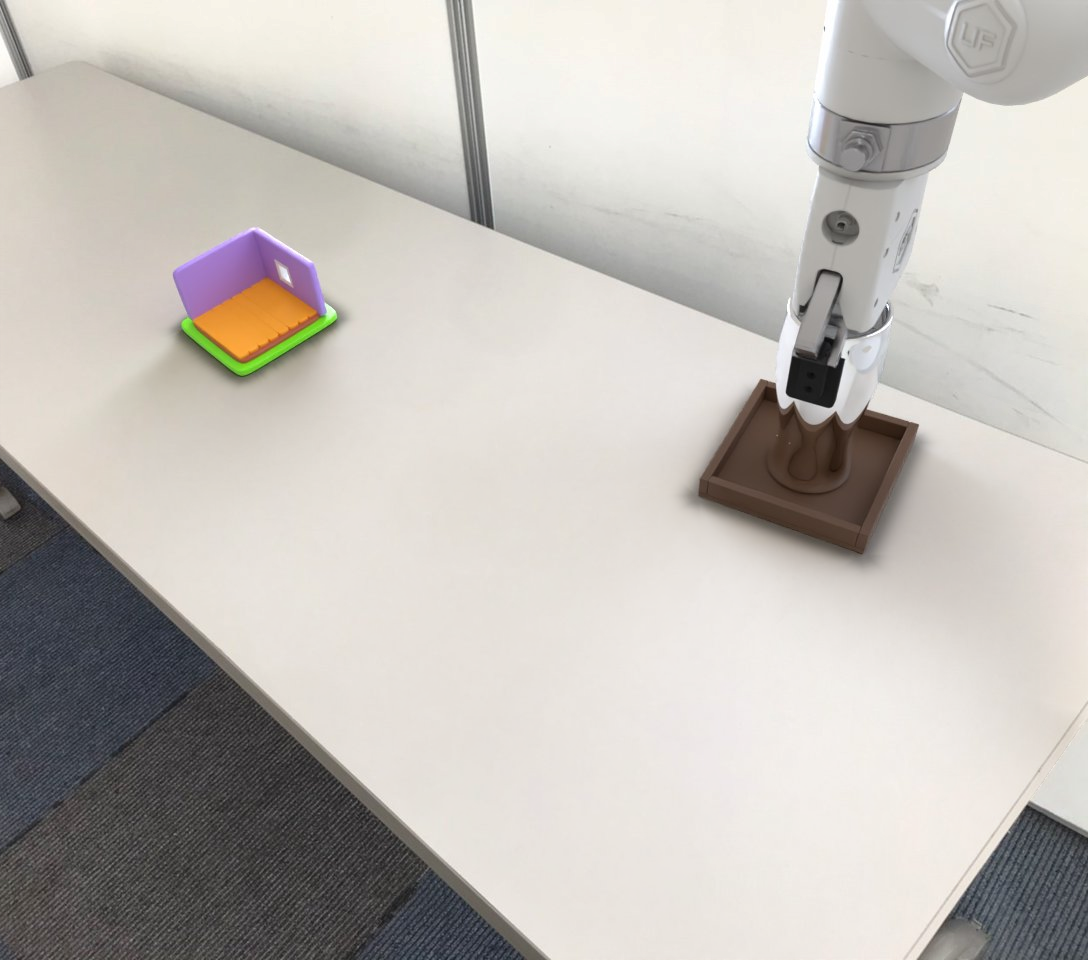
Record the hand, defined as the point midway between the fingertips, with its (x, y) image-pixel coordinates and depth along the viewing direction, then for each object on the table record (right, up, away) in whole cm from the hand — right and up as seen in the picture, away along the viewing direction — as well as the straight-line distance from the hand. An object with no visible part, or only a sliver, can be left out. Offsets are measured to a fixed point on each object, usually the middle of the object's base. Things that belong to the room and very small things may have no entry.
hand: (829, 363), depth 67 cm
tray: (+1, -7, +8) cm, 11 cm away
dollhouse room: (-45, +7, +29) cm, 54 cm away
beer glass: (+1, -7, +8) cm, 10 cm away
